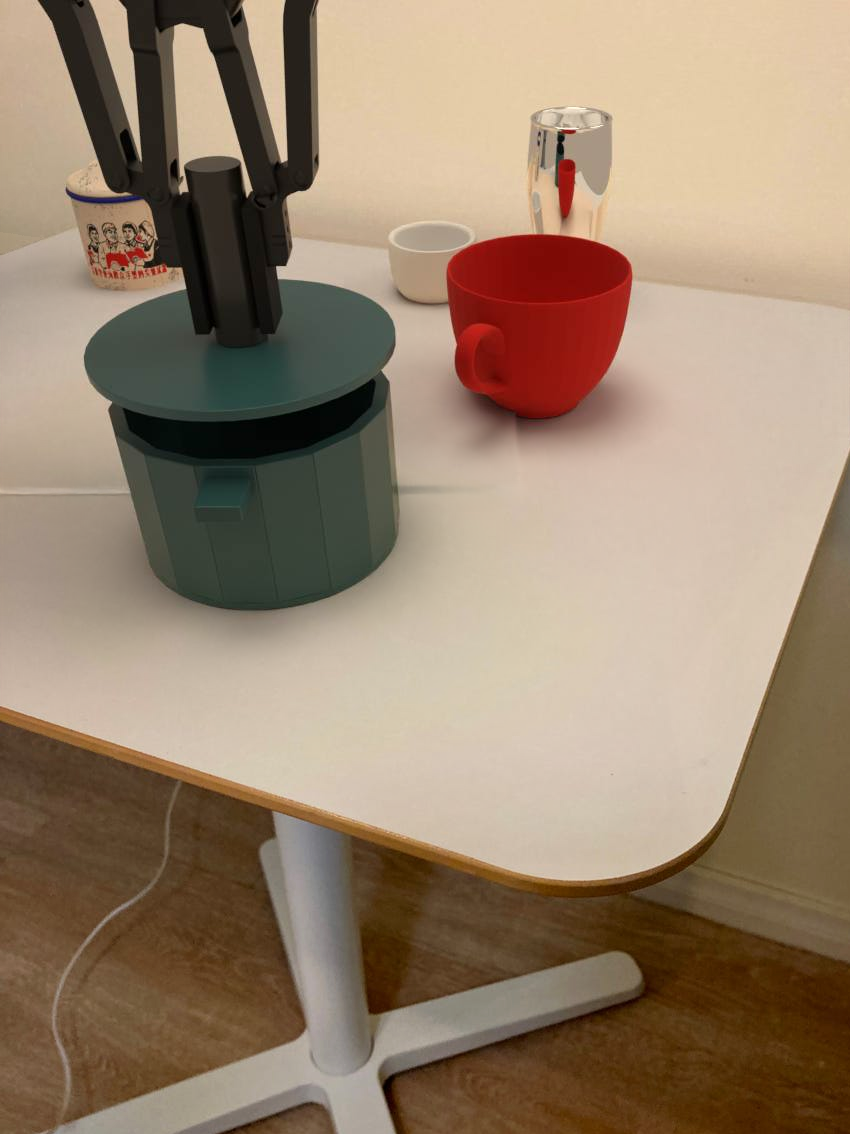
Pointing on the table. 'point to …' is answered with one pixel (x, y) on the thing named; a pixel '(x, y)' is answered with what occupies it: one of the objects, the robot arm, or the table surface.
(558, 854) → the table surface
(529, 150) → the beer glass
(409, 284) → the teacup
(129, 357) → the lid
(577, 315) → the ceramic cup
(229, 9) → the robot arm
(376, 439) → the pot
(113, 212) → the teacup with lid
